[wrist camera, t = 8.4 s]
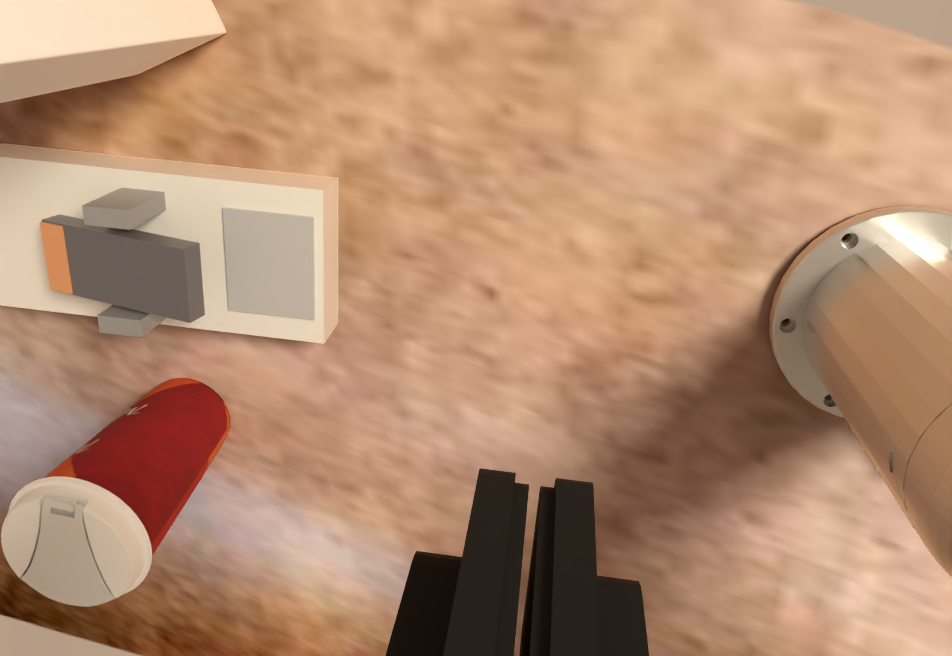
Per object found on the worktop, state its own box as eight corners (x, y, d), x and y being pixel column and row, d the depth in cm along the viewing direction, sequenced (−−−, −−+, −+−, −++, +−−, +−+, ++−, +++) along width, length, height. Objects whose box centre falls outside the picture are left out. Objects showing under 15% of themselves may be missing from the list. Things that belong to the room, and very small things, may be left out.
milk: (229, 32, 41) (-90, 82, 21) (136, 76, 43) (-244, 160, 23) (171, -88, 39) (-244, -157, 19) (75, -37, 41) (-402, -54, 21)
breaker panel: (338, 177, 44) (300, 209, 38) (338, 322, 47) (303, 373, 41) (2, 143, 45) (-88, 168, 39) (27, 286, 49) (-52, 330, 43)
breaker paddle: (199, 242, 39) (182, 250, 38) (204, 314, 41) (188, 324, 40) (59, 214, 42) (39, 220, 41) (69, 283, 44) (50, 291, 42)
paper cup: (132, 352, 50) (-18, 478, 37) (248, 375, 50) (137, 510, 37) (135, 453, 53) (-2, 600, 40) (244, 475, 53) (140, 630, 40)
